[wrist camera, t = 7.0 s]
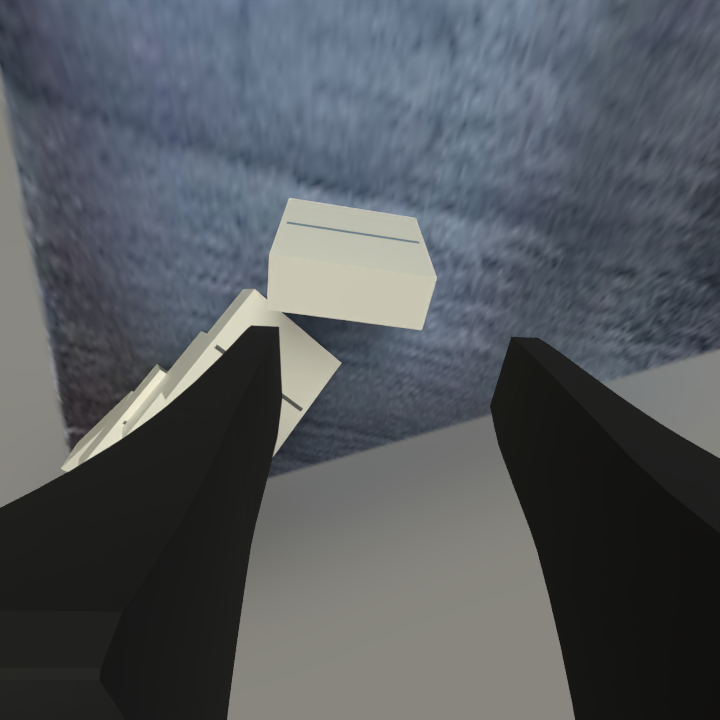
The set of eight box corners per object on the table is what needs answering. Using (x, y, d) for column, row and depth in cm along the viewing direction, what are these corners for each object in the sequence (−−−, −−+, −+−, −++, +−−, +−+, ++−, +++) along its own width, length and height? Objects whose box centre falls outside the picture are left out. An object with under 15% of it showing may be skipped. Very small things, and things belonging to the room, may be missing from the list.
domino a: (341, 363, 20) (267, 465, 19) (324, 357, 21) (255, 451, 20) (254, 289, 17) (165, 400, 16) (243, 289, 19) (160, 390, 18)
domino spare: (415, 217, 17) (437, 277, 13) (405, 261, 19) (421, 330, 14) (289, 197, 17) (269, 253, 13) (285, 243, 18) (266, 310, 14)
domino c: (247, 428, 22) (176, 523, 21) (238, 419, 23) (172, 506, 22) (160, 369, 20) (76, 472, 19) (156, 363, 21) (79, 457, 20)
